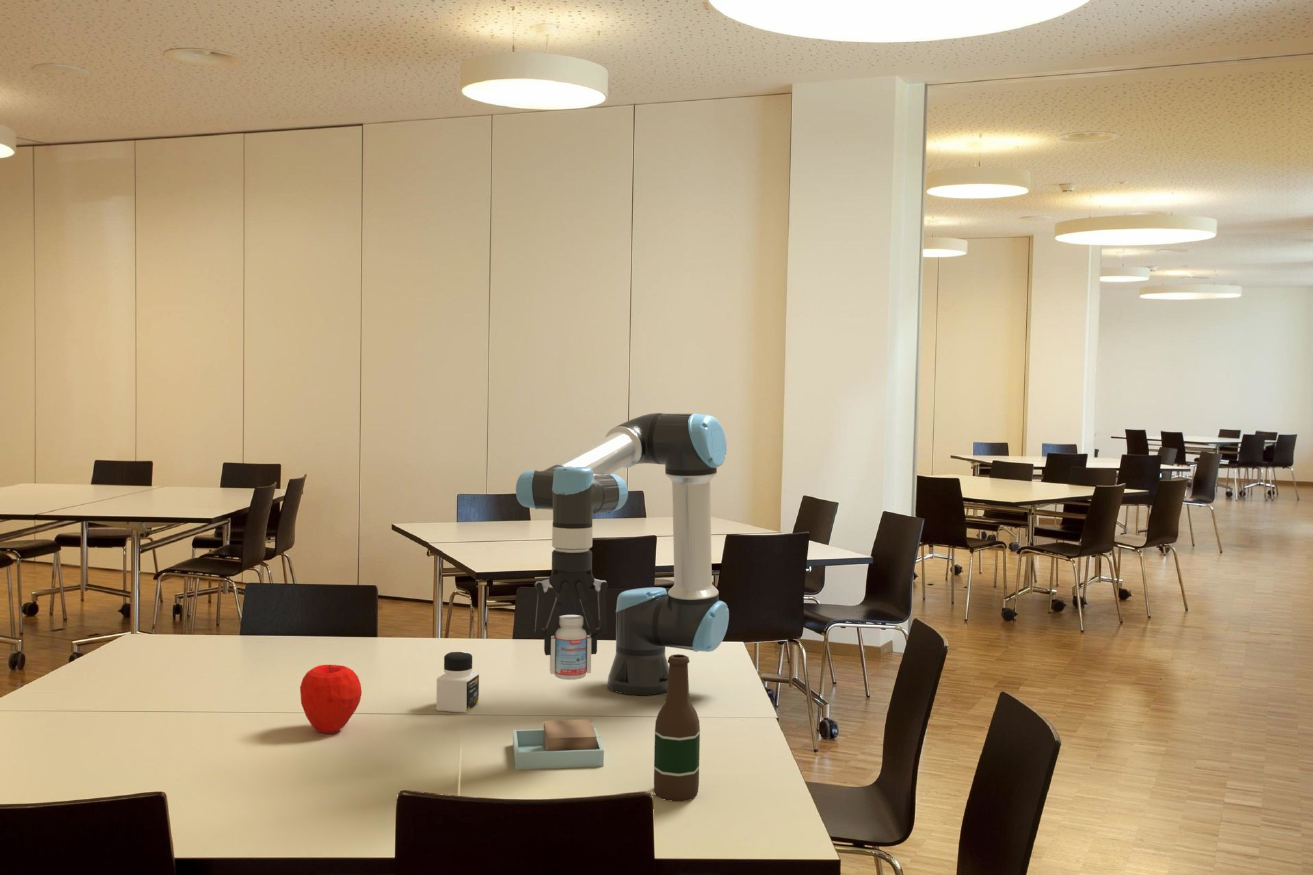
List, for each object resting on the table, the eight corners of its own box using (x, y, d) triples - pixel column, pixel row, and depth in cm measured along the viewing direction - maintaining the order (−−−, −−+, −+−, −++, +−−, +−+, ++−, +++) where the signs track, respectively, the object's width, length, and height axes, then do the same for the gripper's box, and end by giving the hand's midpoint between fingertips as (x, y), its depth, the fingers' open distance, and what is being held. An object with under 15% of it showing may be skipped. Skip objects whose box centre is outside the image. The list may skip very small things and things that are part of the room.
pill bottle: (561, 681, 203) (562, 621, 203) (549, 674, 209) (549, 615, 208) (591, 678, 206) (592, 618, 206) (578, 671, 211) (579, 612, 211)
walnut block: (590, 744, 214) (590, 719, 214) (596, 763, 203) (596, 736, 203) (543, 746, 213) (543, 720, 212) (547, 765, 202) (547, 738, 202)
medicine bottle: (467, 713, 236) (467, 657, 235) (435, 710, 237) (436, 655, 237) (479, 704, 243) (479, 650, 242) (448, 702, 244) (449, 648, 244)
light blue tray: (595, 745, 216) (595, 727, 216) (603, 769, 202) (603, 750, 202) (512, 747, 213) (513, 729, 213) (515, 772, 199) (515, 753, 199)
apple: (372, 725, 226) (372, 661, 225) (337, 742, 215) (338, 674, 214) (323, 719, 230) (323, 655, 229) (287, 735, 218) (287, 668, 218)
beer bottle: (651, 786, 193) (654, 650, 192) (695, 785, 194) (698, 650, 193) (655, 802, 186) (657, 661, 185) (701, 802, 186) (704, 661, 185)
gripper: (620, 546, 212) (618, 665, 212) (520, 546, 209) (518, 667, 209) (625, 551, 204) (623, 675, 205) (521, 552, 201) (520, 677, 202)
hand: (570, 671), depth 207 cm, fingers closed on pill bottle, 6 cm apart
